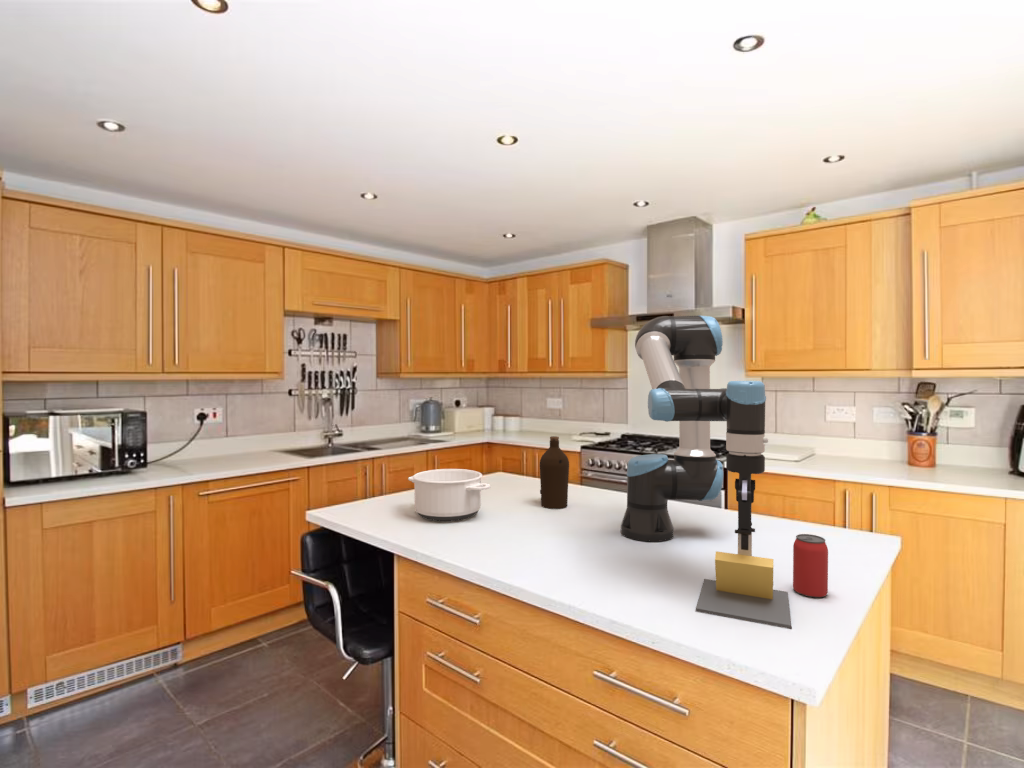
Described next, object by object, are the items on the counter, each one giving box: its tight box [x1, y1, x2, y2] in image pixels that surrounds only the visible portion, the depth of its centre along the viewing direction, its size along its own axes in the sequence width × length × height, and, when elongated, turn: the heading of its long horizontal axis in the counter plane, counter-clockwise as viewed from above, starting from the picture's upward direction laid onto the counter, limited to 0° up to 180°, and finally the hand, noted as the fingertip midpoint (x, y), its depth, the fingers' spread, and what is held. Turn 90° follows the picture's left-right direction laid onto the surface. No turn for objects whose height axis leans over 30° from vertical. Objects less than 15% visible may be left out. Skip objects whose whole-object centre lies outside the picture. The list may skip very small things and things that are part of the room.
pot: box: [407, 468, 491, 523], centre depth 178 cm, size 33×23×14 cm
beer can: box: [792, 533, 829, 599], centre depth 115 cm, size 7×7×12 cm
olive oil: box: [539, 435, 570, 510], centre depth 191 cm, size 11×11×25 cm
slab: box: [714, 550, 774, 599], centre depth 111 cm, size 11×2×9 cm, turn 65°
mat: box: [695, 578, 793, 630], centre depth 110 cm, size 17×17×1 cm
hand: (744, 563), depth 113 cm, fingers closed
